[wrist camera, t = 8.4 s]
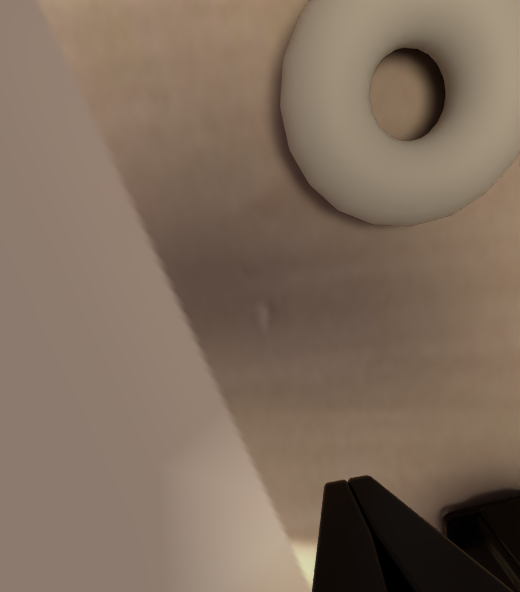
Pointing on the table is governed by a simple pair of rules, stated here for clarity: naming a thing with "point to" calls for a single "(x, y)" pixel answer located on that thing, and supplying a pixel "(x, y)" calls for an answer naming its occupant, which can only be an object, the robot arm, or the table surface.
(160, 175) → the table surface
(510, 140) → the donut
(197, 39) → the table surface
